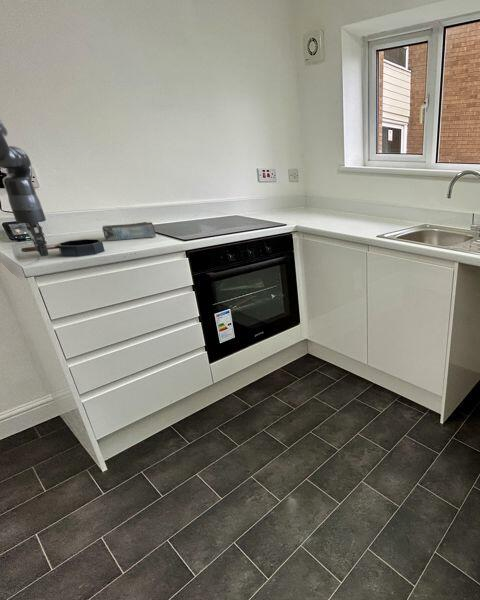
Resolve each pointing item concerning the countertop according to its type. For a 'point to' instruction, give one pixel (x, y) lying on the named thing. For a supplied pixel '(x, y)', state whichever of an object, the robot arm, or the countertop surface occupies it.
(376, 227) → the countertop surface
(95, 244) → the black frying pan
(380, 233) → the countertop surface
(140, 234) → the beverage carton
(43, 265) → the countertop surface
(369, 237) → the countertop surface
